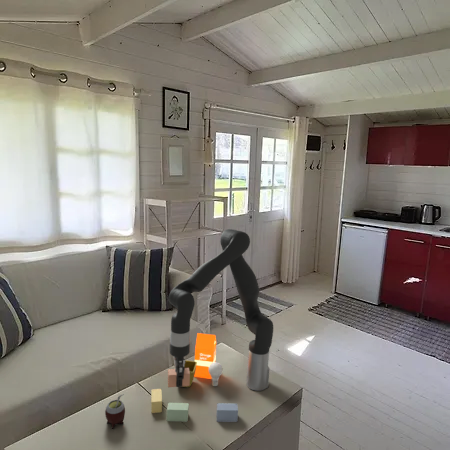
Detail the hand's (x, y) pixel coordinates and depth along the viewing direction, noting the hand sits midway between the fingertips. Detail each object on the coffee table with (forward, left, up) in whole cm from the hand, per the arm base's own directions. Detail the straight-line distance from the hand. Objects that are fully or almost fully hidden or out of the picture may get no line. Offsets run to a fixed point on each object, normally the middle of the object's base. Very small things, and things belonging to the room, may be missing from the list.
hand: (178, 382), depth 135 cm
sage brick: (0, 0, -15) cm, 15 cm away
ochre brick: (+8, -8, -15) cm, 19 cm away
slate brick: (-19, +3, -15) cm, 24 cm away
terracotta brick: (0, 0, 0) cm, 0 cm away
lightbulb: (-18, -18, -15) cm, 30 cm away
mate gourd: (+23, 0, -15) cm, 28 cm away
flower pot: (-5, -21, -15) cm, 26 cm away
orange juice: (-15, -28, -15) cm, 35 cm away
